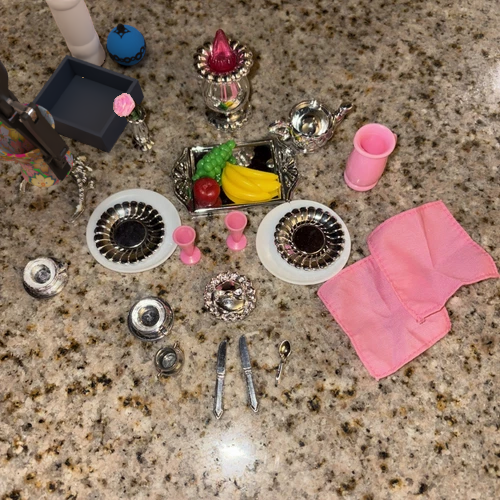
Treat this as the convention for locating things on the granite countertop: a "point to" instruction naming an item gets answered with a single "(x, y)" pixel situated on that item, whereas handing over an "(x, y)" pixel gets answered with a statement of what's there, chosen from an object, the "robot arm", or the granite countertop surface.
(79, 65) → the tote
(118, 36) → the ornament
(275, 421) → the granite countertop surface
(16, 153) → the mug
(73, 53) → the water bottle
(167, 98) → the granite countertop surface
